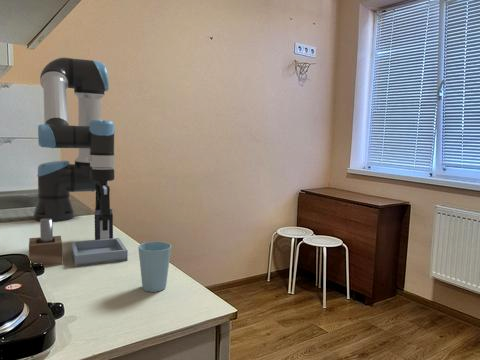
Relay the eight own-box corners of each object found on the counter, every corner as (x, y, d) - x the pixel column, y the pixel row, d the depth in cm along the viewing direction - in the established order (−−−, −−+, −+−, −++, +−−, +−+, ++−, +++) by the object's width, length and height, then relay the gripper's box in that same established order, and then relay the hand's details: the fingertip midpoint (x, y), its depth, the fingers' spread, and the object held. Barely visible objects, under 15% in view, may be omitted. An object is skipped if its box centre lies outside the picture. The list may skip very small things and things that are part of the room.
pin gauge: (41, 260, 109) (40, 218, 107) (52, 259, 110) (52, 218, 109) (41, 263, 106) (40, 221, 105) (53, 262, 108) (52, 220, 106)
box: (95, 239, 131) (95, 209, 130) (112, 239, 133) (112, 208, 131) (94, 246, 123) (94, 214, 122) (113, 245, 125) (113, 213, 124)
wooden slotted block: (30, 258, 110) (29, 238, 109) (60, 255, 114) (60, 235, 113) (29, 267, 103) (28, 246, 102) (62, 264, 106) (62, 243, 106)
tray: (71, 251, 118) (71, 242, 117) (118, 246, 124) (118, 237, 124) (75, 266, 105) (74, 255, 105) (127, 260, 112) (127, 250, 111)
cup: (154, 297, 88) (155, 252, 87) (131, 289, 92) (131, 246, 91) (176, 286, 94) (177, 245, 93) (153, 279, 98) (154, 239, 97)
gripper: (86, 165, 133) (86, 229, 135) (94, 171, 114) (94, 246, 117) (109, 165, 136) (109, 228, 139) (120, 171, 118) (120, 243, 120)
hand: (102, 236), depth 128 cm, fingers closed on box, 8 cm apart
